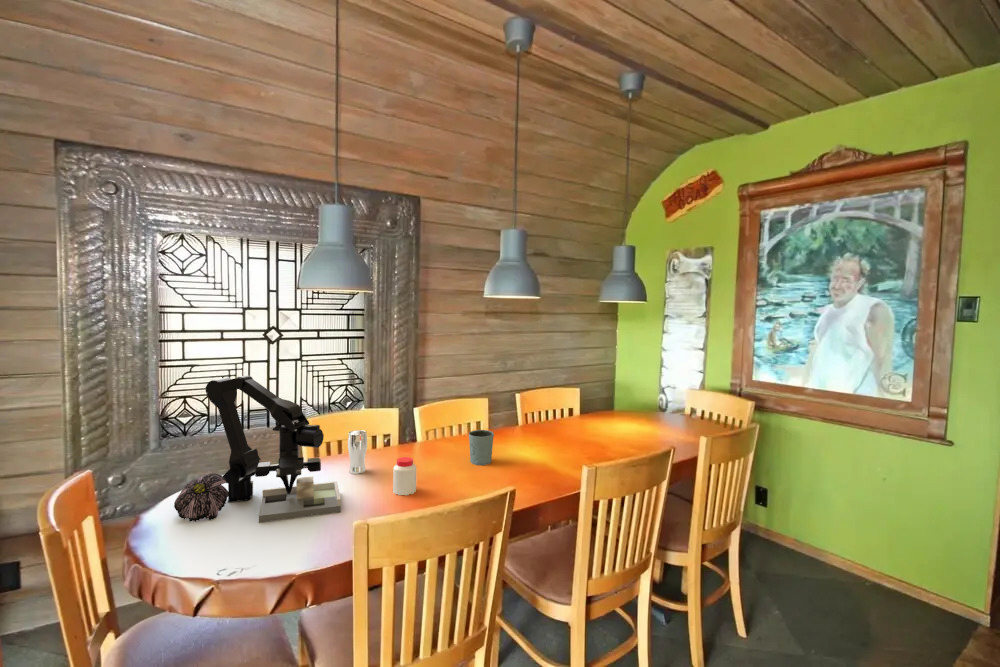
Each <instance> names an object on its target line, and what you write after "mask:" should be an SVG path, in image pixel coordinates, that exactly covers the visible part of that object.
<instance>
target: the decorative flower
mask: <svg viewBox="0 0 1000 667" xmlns="http://www.w3.org/2000/svg"><path fill="white" fill-rule="evenodd" d="M226 482H227V480H226V479H225V478H224V477H223V475H221V474H219V473H207V474H203V475H201V476H200V477H197V478H195V479H192V480H190V481H189V482H187V483H186V484H185V485H184V486H183V488H182V489H181V491H180V493H179V494H178V495H177V497H176V499H175V501H174V505H173V507H174V510H175V511H176V513H177V514H178V515H177V516H178V517H179V518H180V519H182V518H184V519H183V520H187V519H188V521H189V523H191V522H194V523H196V522H197V521H198V522H200V520H203V519H207V520H208V521H212V520H215V519H216V518H217V517H218V514H219V512H221V511H222V509H223V508H224V507H226V506H225V505H226V504H227V500H228V496H229V492H228V488H226V487H225V486H224V485H223V484H227V483H226ZM185 518H186V519H185ZM214 518H215V519H214ZM211 519H212V520H211Z"/></svg>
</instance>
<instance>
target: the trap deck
mask: <svg viewBox="0 0 1000 667" xmlns="http://www.w3.org/2000/svg"><path fill="white" fill-rule="evenodd" d="M338 483H339V482H338V480H337V481H328V482H316V483H314V497H311V498H302V499H297V488H296V485H293V487H292V490H291V493H290V494H288V493H287V491H286V488H285V486H282V487H271V488H263V489H262V496H261V497H262V498H261V502H260V506H259V508H260V509H259V512H258V523H259V524H260V523H267V522H269V523H270V522H275V521H282V520H283V521H284V520H290V519H299V518H305V517H314V516H321V515H328V514H337V513H341V511H342V503H341V502H342V500H341V494H340V489H339V484H338Z"/></svg>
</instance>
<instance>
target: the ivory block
mask: <svg viewBox="0 0 1000 667" xmlns="http://www.w3.org/2000/svg"><path fill="white" fill-rule="evenodd" d="M314 482H315V481H314V476H305V477H296V485H295V486H296V488H297V499H302V498H311V497H314V484H315V483H314Z"/></svg>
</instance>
